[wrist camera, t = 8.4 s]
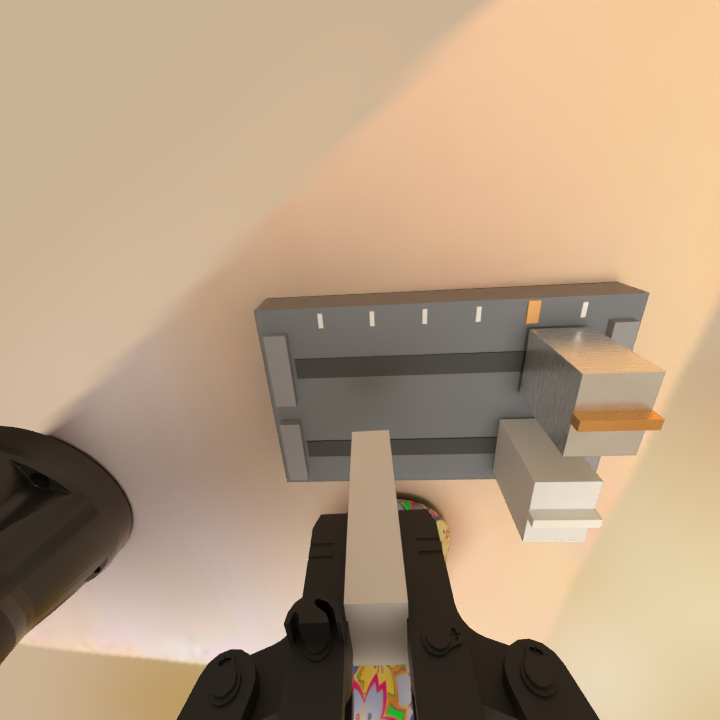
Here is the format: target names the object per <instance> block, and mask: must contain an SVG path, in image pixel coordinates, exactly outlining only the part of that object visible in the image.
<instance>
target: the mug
mask: <svg viewBox="0 0 720 720" xmlns="http://www.w3.org/2000/svg"><path fill="white" fill-rule="evenodd" d="M397 508H398V510H412V509H427V510H428V511H429V513H430V514H431V515H432V517H433V518H434V520H435V521H436V523H437V528H438V532H439V537H440V541H441V545H442V550H443V554H444V559H445V563H446V556H447V552H448V549H449V545H450V532H449V529H448V527H447V525H446V523H445V521H444V520H443V518H442V517H441V516H440V515H439V514H438V513H436V512H435V511H434V510H432V509H431V508H429V507H427V506H425V505H423V504H421V503H418V502H414V501H410V500H402V499H397ZM352 686H353V693H354V720H413V709H412V710H411V680H410V670H409V664H404V665H370V666H353V678H352Z"/></svg>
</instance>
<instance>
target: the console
mask: <svg viewBox="0 0 720 720" xmlns="http://www.w3.org/2000/svg"><path fill="white" fill-rule="evenodd" d="M648 296H649V293H648V292H645V291H643V290H640V289H637V288H634V287H631V286H628V285H625V284H622V283H619V282H604V283H583V284H562V285H542V286H521V287H500V288H479V289H458V290H437V291H417V292H396V293H375V294H354V295H333V296H312V297H291V298H271V299H266V300H265V301H264V302H263V303H262V304H261V305H260V306H259V307H258V308H257V309H255V310H254V314H255V319H256V324H257V330H258V335H259V340H260V345H261V350H262V355H263V360H264V365H265V370H266V375H267V381H268V386H269V391H270V396H271V401H272V406H273V411H274V416H275V421H276V426H277V432H278V437H279V442H280V447H281V452H282V457H283V462H284V467H285V472H286V478H287V482H309V481H350V463H351V442H352V432H360V431H378V430H389V436H390V445H391V454H392V463H393V472H394V480H458V479H496V480H497V483H498V485H499V487H500V490H501V492H502V494H503V497H504V499H505V501H506V504H507V506H508V508H509V511H510V513H511V515H512V518H513V520H514V522H515V525H516V527H517V529H518V532H519V534H520V536H521V539H522V541H523V542H584V541H585V538H586V535H587V531H588V528H601V525H602V522H603V519H602V518H601V516H600V515H599V514H598V512H597V511H596V509H595V506H596V503H597V500H598V496H599V493H600V490H601V487H602V484H603V481H602V479H601V478H600V477H599V476H598V474H597V473H596V470H597V467H598V463H599V460H600V457H601V456H566V457H563V456H562V455H561V453H560V452H559V450H558V449H557V448H556V446H555V445H554V443H553V442H552V441H551V439H550V438H549V437H548V435H547V434H546V432H545V431H544V430H543V428H542V427H541V426H540V424H539V423H538V421H537V420H536V419H535V417H534V416H533V415H532V413H531V412H530V410H529V409H528V408H527V406H526V405H525V404H524V402H523V401H522V399H521V398H520V397H519V394H520V388H521V382H522V375H523V369H524V363H525V356H526V350H527V344H528V337H529V331H530V329H543V328H568V327H592V328H594V329H596V330H597V331H599V332H601V333H602V334H604V335H606V336H607V337H609V338H611V339H612V340H614V341H616V342H617V343H619V344H621V345H622V346H624V347H626V348H627V349H629V350H631V351H632V350H633V346H634V343H635V340H636V336H637V333H638V330H639V326H640V323H641V320H642V316H643V313H644V310H645V306H646V303H647V300H648Z"/></svg>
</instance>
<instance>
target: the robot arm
mask: <svg viewBox="0 0 720 720" xmlns="http://www.w3.org/2000/svg"><path fill="white" fill-rule="evenodd" d="M131 528H132V516H131V511H130V508H129V505H128V502H127V500H126V498H125V496H124V494H123V493H122V491H121V490H120V488H119V487H118V485H117V484H116V483H115V482H114V480H113V479H112V478H111V477H110V476H109V475H108V474H107V473H106V472H105V471H104V470H103V469H102V468H101V467H100V466H98V465H97V464H96V463H95V462H93V461H92V460H91V459H89V458H88V457H87V456H85V455H84V454H82V453H81V452H79V451H77V450H76V449H74V448H72V447H70V446H69V445H67V444H65V443H63V442H60V441H58V440H56V439H54V438H51V437H49V436H46V435H43V434H40V433H37V432H34V431H30V430H26V429H21V428H15V427H6V426H0V664H1V663H2V662H3V661H4V659H5V658H6V657H7V656H8V655H9V653H10V652H11V651H12V650H13V649H14V647H15V646H16V645H17V644H18V642H19V641H20V640H21V639H22V638H23V637H24V636H25V635H26V634H27V633H28V632H29V631H30V630H31V629H33V628H34V627H35V626H36V625H37V624H39V623H40V622H41V621H42V620H44V619H45V618H46V617H47V616H48V615H50V614H51V613H52V612H53V611H54V610H56V609H57V608H58V607H59V606H60V605H62V604H63V603H64V602H65V601H66V600H67V599H68V598H70V597H71V596H72V595H73V594H74V593H75V592H76V591H77V590H78V589H79V588H80V587H81V586H82V585H83V584H84V583H86V582H88V581H90V580H91V579H93V578H95V577H96V576H97V575H99V574H100V573H101V572H102V571H103V570H104V569H105V568H106V567H107V566H108V565H109V564H110V563H111V561H112V560H113V559H114V557H115V556H116V555H117V553H118V552H119V551H120V549H121V548H122V546H123V545H124V544H125V542H126V541H127V539H128V537H129V535H130V533H131ZM284 626H285V630H286V633H287V636H286V637H285V638H283V639H282V640H281V641H280V642H278V643H276V644H274V645H272V646H270V647H268V648H265V649H263V650H261V651H258V652H256V653H254V654H251V655H249V654H248V653H246V652H244V651H243V650H236V649H231V650H228V651H226V652H223V653H221V654H219V655H218V656H217V657H216V658H214V659H213V660H212V661H211V662H210V663H209V664H208V665H207V666H206V668H205V669H204V671H203V672H202V674H201V675H200V677H199V679H198V680H197V682H196V684H195V686H194V688H193V690H192V692H191V694H190V695H189V697H188V699H187V701H186V703H185V705H184V707H183V709H182V711H181V713H180V714H179V716H178V718H177V720H354V693H353V686H352V678H353V666H370V665H404V664H409V670H410V680H411V710H412V709H413V720H599V718H598V716H597V715H596V713H595V712H594V710H593V708H592V707H591V706H590V704H589V702H588V701H587V699H586V697H585V696H584V694H583V693H582V691H581V690H580V688H579V687H578V685H577V683H576V682H575V680H574V679H573V677H572V676H571V674H570V673H569V671H568V670H567V668H566V666H565V665H564V663H563V662H562V661H561V660H560V658H559V657H558V656H557V655H556V654H555V652H553V651H552V650H550V649H549V648H548V647H547V646H545V645H544V644H542V643H540V642H537V641H534V640H531V639H521V640H517V641H516V642H514V643H513V644H511V645H510V646H509V645H506V644H503V643H501V642H498V641H495V640H492V639H489V638H486V637H484V636H482V635H480V634H478V633H476V632H475V631H473V630H472V629H471V628H470V627H468V625H467V624H466V623H465V622H464V621H463V620H462V618H461V617H460V615H459V613H458V611H457V609H456V606H455V603H454V599H453V594H452V590H451V585H450V581H449V576H448V572H447V568H446V563H445V559H444V554H443V550H442V545H441V541H440V537H439V532H438V528H437V523H436V521H435V520H434V518H433V517H432V515H431V514H430V513H429V511H428V510H427V509H412V510H398V508H397V499H396V490H395V481H394V472H393V463H392V454H391V445H390V436H389V430H378V431H360V432H352V442H351V463H350V484H349V505H348V513H346V514H324V515H321V516H320V517H319V519H318V521H317V522H316V524H315V526H314V527H313V531H312V538H311V547H310V551H309V560H308V564H307V571H306V577H305V584H304V591H303V597H302V598H301V599H299V600H298V601H297V602H295V604H294V605H293V606H292V608H291V609H290V610H289V611H288V614H287V617H286V619H285V622H284Z"/></svg>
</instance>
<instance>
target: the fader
mask: <svg viewBox="0 0 720 720" xmlns="http://www.w3.org/2000/svg"><path fill="white" fill-rule="evenodd" d="M665 372H666V371H665V370H663V369H661V368H659V367H658V366H656V365H654V364H653V363H651V362H649V361H648V360H646V359H644V358H643V357H641V356H639V355H638V354H636V353H634V352H633V351H631V350H629V349H627V348H626V347H624V346H622V345H621V344H619V343H617V342H616V341H614V340H612V339H611V338H609V337H607V336H606V335H604V334H602V333H601V332H599V331H597V330H596V329H594V328H592V327H568V328H543V329H530V331H529V337H528V344H527V350H526V356H525V363H524V369H523V375H522V382H521V388H520V394H519V397H520V398H521V399H522V401H523V402H524V404H525V405H526V406H527V408H528V409H529V410H530V412H531V413H532V415H533V416H534V417H535V419H536V420H537V421H538V423H539V424H540V426H541V427H542V428H543V430H544V431H545V432H546V434H547V435H548V437H549V438H550V439H551V441H552V442H553V443H554V445H555V446H556V448H557V449H558V450H559V452H560V453H561V455H562V456H563V457H566V456H624V455H636V454H637V451H638V449H639V446H640V443H641V440H642V437H643V434H644V432H645V430H661V428H662V425H663V423H664V420H665V419H664V418H662V417H661V416H660V415H658V414H657V413H656V412H654V411H652V409H653V406H654V403H655V401H656V398H657V395H658V392H659V389H660V386H661V384H662V381H663V378H664V375H665Z"/></svg>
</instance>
